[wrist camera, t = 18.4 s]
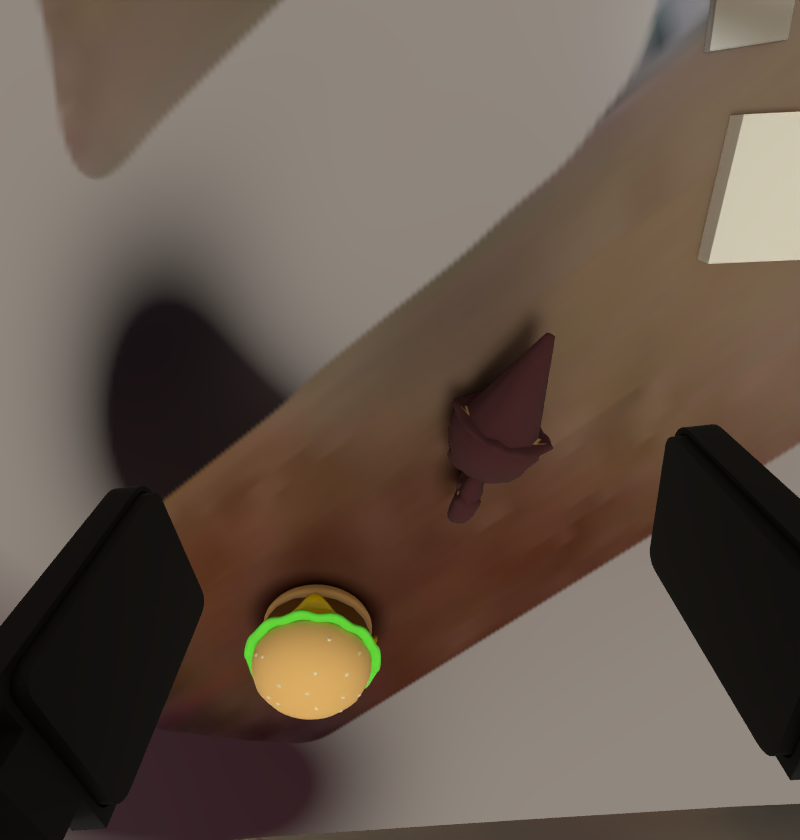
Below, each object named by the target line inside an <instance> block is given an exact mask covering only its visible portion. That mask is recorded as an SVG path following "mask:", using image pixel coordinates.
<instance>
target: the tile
mask: <svg viewBox="0 0 800 840" xmlns="http://www.w3.org/2000/svg"><path fill="white" fill-rule="evenodd" d="M697 259H698V260H700V261H703V262H705V263H708V264H714V263H736V262H758V261H781V260H800V112H783V113H763V114H743V115H730V120H729V124H728V128H727V133H726V137H725V141H724V146H723V150H722V154H721V158H720V163H719V167H718V171H717V176H716V180H715V184H714V189H713V193H712V197H711V201H710V206H709V210H708V214H707V219H706V223H705V227H704V232H703V236H702V240H701V245H700V249H699V253H698V257H697Z"/></svg>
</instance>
